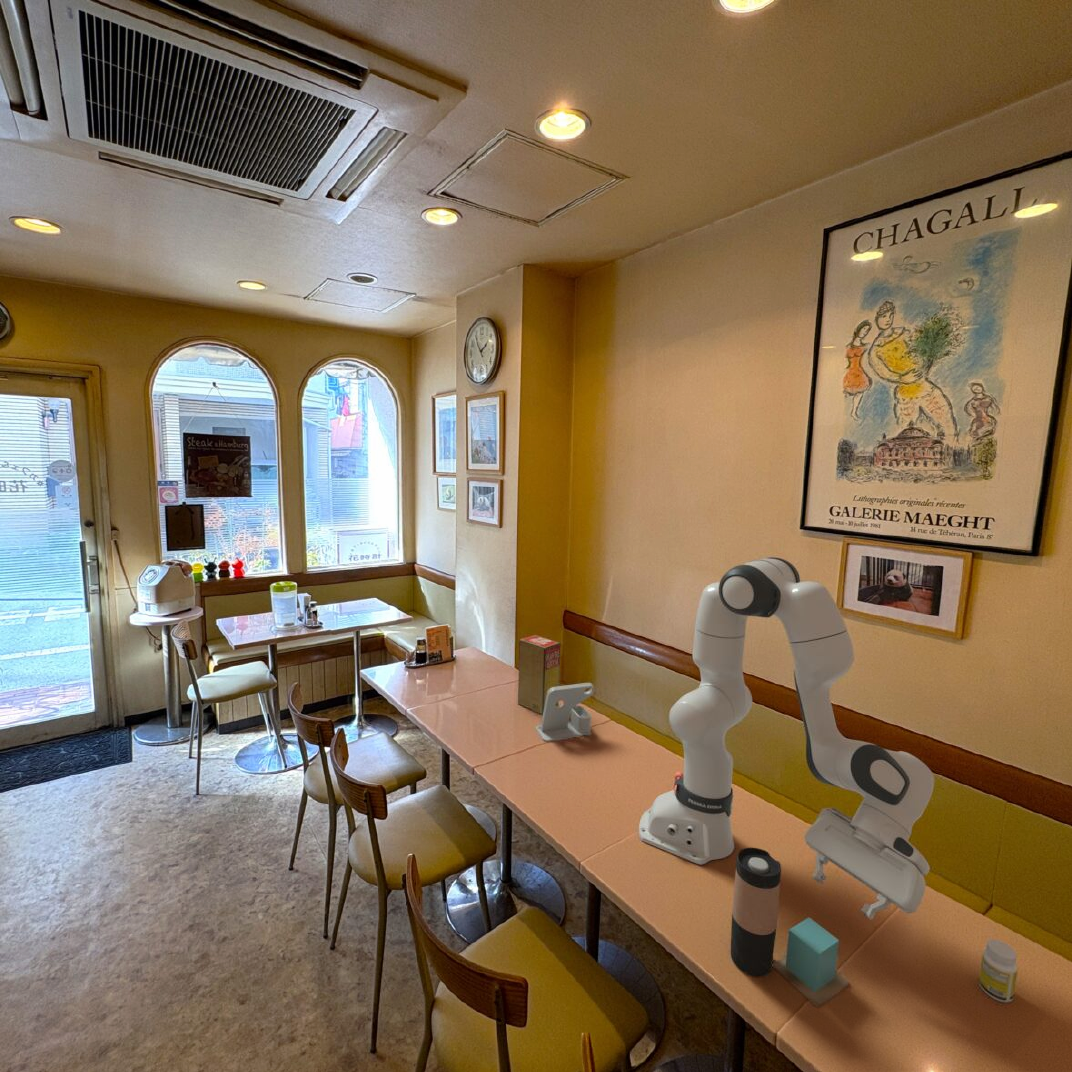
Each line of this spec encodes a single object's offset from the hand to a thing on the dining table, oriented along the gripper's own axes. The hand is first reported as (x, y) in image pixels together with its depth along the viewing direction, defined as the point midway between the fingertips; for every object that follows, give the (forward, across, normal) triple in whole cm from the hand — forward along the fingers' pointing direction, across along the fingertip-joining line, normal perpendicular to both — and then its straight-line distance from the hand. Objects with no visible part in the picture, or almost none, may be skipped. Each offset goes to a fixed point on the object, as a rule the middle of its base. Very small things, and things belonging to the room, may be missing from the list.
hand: (840, 897), depth 104 cm
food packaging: (+7, -118, +13) cm, 119 cm away
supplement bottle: (-5, +18, +22) cm, 29 cm away
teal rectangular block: (+14, 0, +3) cm, 14 cm away
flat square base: (+14, 0, +3) cm, 14 cm away
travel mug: (+19, -7, -2) cm, 20 cm away
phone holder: (+8, -97, +11) cm, 98 cm away
